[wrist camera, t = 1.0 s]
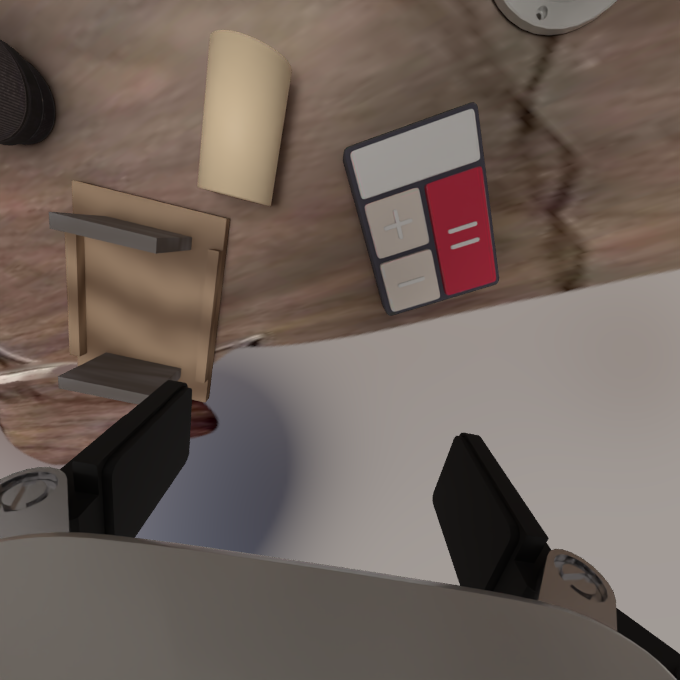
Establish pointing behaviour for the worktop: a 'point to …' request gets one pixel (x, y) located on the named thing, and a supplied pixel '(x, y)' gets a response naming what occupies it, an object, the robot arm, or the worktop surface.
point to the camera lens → (23, 101)
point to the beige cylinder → (242, 117)
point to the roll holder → (140, 293)
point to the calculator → (425, 209)
